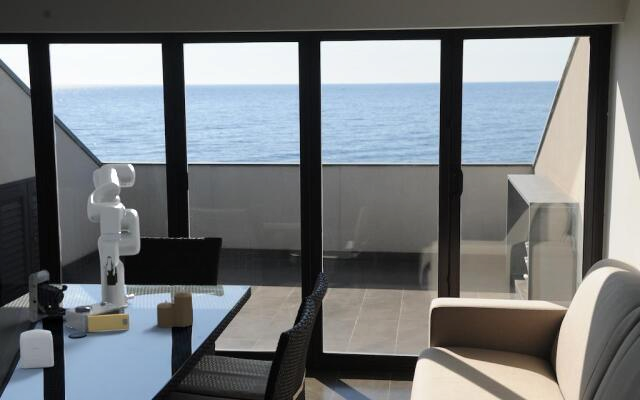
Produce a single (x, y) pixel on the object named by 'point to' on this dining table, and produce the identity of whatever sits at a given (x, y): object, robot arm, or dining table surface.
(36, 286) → the vintage camera
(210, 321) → the dining table surface
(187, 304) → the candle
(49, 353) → the photo printer
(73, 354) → the dining table surface
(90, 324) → the ochre side door
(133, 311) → the dining table surface
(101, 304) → the aluminium camera mock-up
